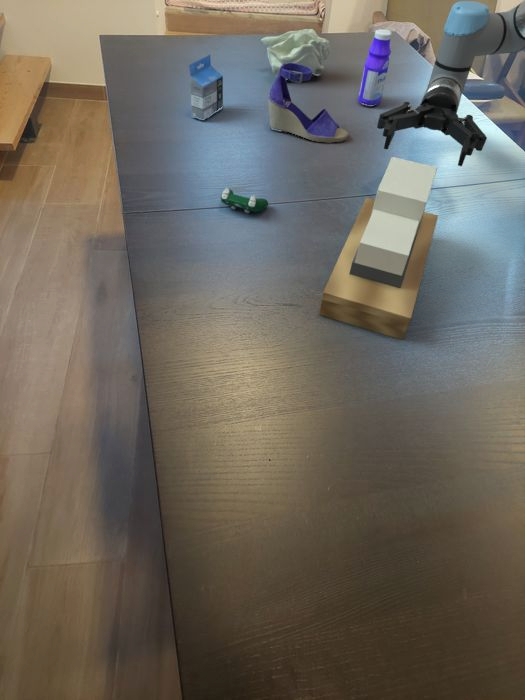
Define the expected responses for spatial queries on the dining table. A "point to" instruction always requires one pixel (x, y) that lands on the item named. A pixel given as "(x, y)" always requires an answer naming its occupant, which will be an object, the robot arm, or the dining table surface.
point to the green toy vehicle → (243, 201)
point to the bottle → (375, 68)
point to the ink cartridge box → (205, 88)
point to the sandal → (291, 116)
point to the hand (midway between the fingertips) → (424, 150)
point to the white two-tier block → (394, 222)
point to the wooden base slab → (376, 284)
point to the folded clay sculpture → (297, 50)
